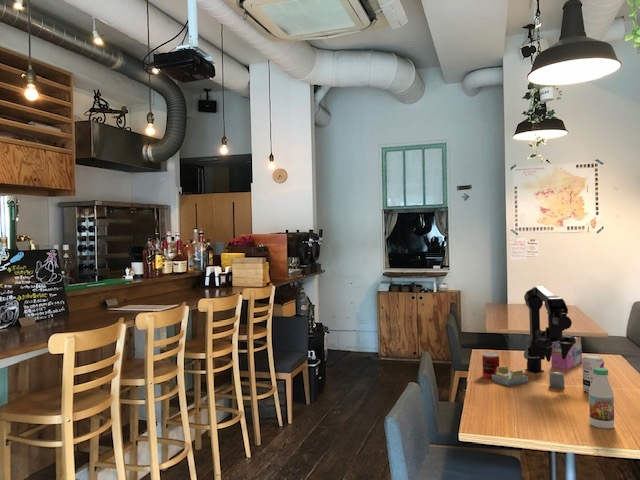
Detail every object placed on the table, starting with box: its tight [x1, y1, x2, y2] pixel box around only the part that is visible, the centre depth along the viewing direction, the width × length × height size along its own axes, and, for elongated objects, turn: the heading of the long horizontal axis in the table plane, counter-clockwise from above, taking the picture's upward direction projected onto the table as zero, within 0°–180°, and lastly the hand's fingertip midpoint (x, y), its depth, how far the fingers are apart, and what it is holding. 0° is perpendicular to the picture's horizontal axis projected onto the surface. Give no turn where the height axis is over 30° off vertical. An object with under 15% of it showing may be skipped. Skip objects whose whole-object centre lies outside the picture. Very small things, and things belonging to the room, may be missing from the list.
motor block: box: [491, 365, 529, 387], centre depth 233 cm, size 14×10×6 cm
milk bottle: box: [588, 367, 615, 430], centre depth 177 cm, size 8×8×20 cm
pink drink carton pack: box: [550, 334, 583, 371], centre depth 262 cm, size 24×8×14 cm, turn 135°
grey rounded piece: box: [548, 371, 565, 390], centre depth 223 cm, size 6×6×6 cm
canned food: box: [481, 351, 500, 380], centre depth 241 cm, size 8×8×11 cm
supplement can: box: [581, 354, 605, 394], centre depth 215 cm, size 8×8×15 cm
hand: (556, 360), depth 223 cm, fingers open, 9 cm apart
